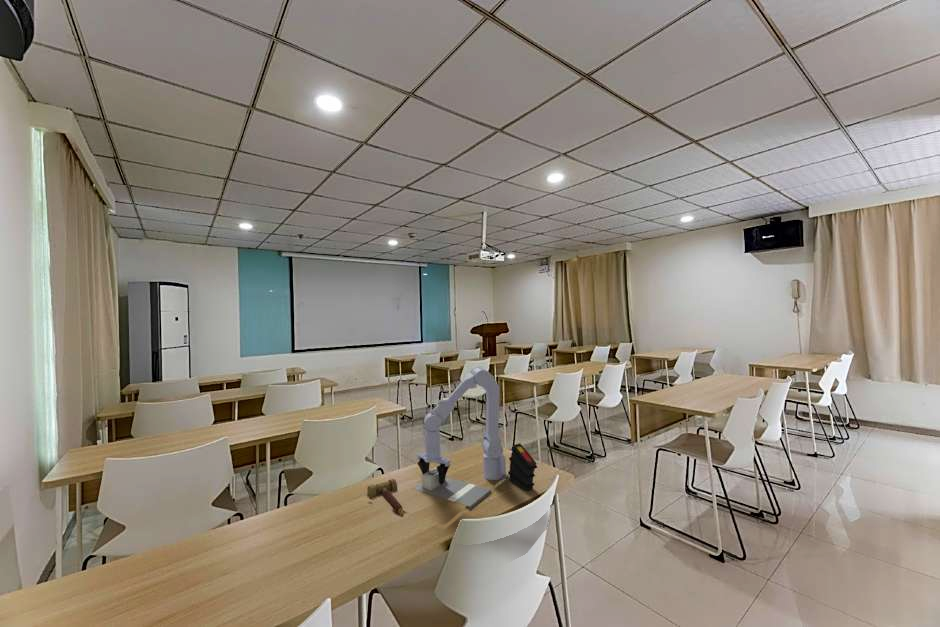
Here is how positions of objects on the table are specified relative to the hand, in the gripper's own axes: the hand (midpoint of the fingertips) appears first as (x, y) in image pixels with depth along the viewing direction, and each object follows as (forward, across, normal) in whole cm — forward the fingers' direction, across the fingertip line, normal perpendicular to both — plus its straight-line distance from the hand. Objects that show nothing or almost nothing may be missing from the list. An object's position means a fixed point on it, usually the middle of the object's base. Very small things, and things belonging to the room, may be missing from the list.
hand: (434, 481), depth 146 cm
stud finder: (+1, 0, 0) cm, 1 cm away
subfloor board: (+2, +8, 0) cm, 8 cm away
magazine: (+2, +29, +17) cm, 34 cm away
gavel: (+3, -6, -17) cm, 18 cm away
